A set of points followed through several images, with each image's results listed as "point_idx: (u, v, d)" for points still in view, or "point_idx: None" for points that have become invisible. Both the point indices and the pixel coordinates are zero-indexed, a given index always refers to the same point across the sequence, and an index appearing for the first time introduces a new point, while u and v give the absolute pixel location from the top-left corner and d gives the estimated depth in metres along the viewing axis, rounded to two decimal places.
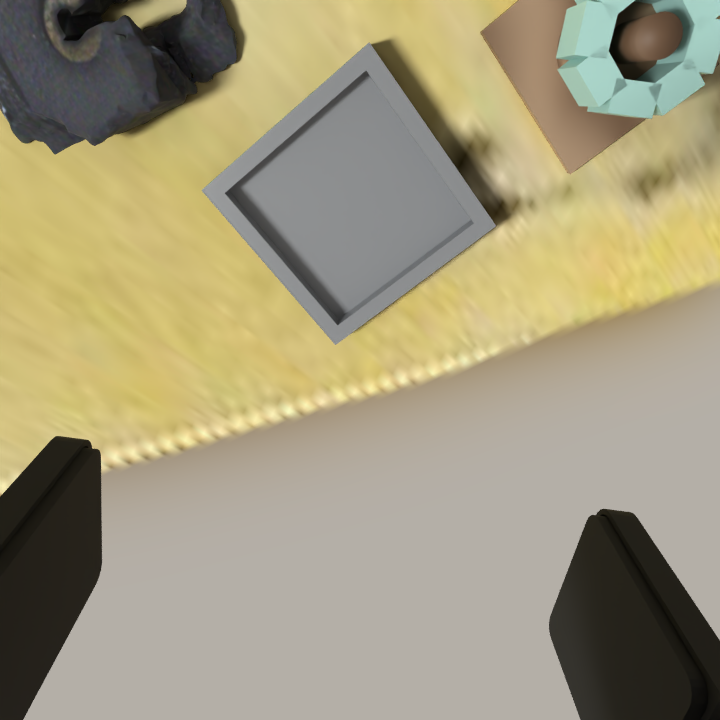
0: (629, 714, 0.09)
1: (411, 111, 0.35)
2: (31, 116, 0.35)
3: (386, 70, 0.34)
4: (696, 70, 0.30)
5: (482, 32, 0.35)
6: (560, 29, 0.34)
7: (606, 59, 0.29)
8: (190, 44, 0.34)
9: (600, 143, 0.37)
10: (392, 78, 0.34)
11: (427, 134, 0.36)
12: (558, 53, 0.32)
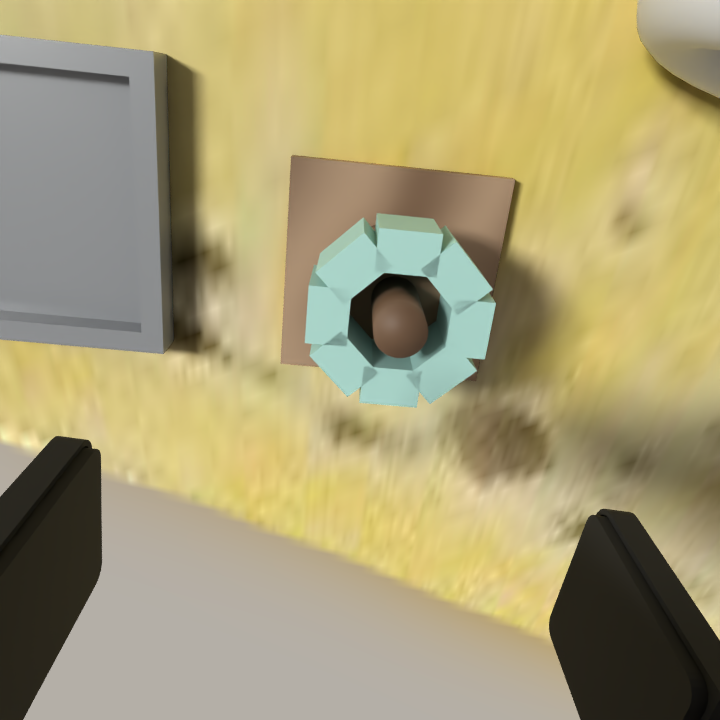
0: (629, 714, 0.09)
1: (151, 165, 0.25)
2: None
3: (152, 98, 0.24)
4: (418, 388, 0.24)
5: (291, 157, 0.27)
6: None
7: (343, 304, 0.22)
8: None
9: None
10: (153, 113, 0.25)
11: (152, 204, 0.26)
12: (323, 251, 0.24)
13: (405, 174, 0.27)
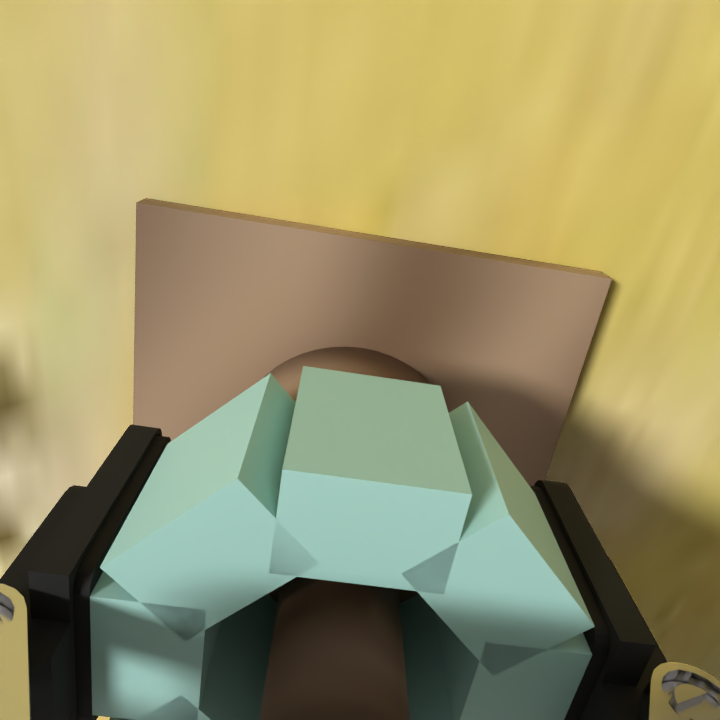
0: None
1: None
2: None
3: None
4: None
5: (139, 205, 0.12)
6: (297, 350, 0.13)
7: (184, 641, 0.08)
8: None
9: None
10: None
11: None
12: (172, 446, 0.10)
13: (382, 255, 0.13)
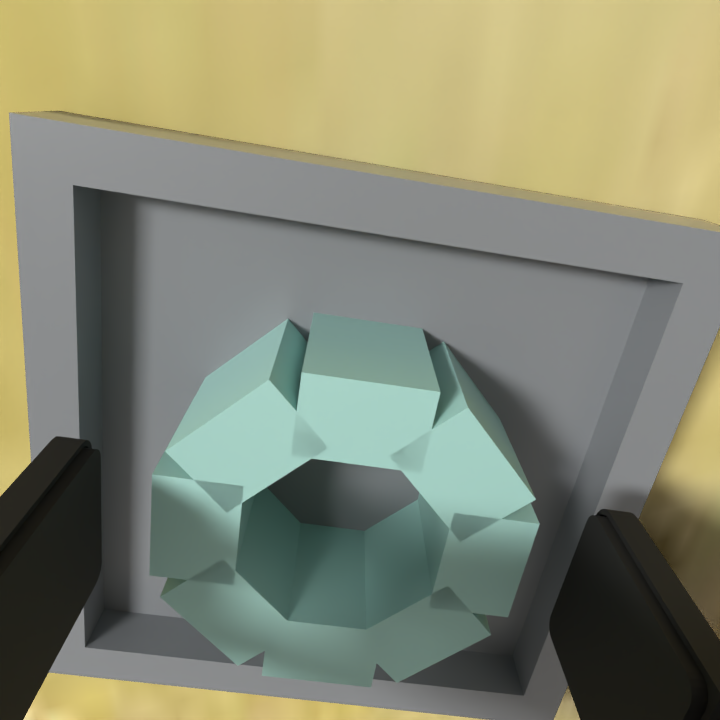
0: (629, 714, 0.09)
1: (658, 444, 0.12)
2: None
3: (714, 327, 0.11)
4: (376, 655, 0.12)
5: None
6: None
7: (226, 511, 0.11)
8: None
9: None
10: (703, 353, 0.12)
11: (631, 506, 0.13)
12: (209, 377, 0.13)
13: None
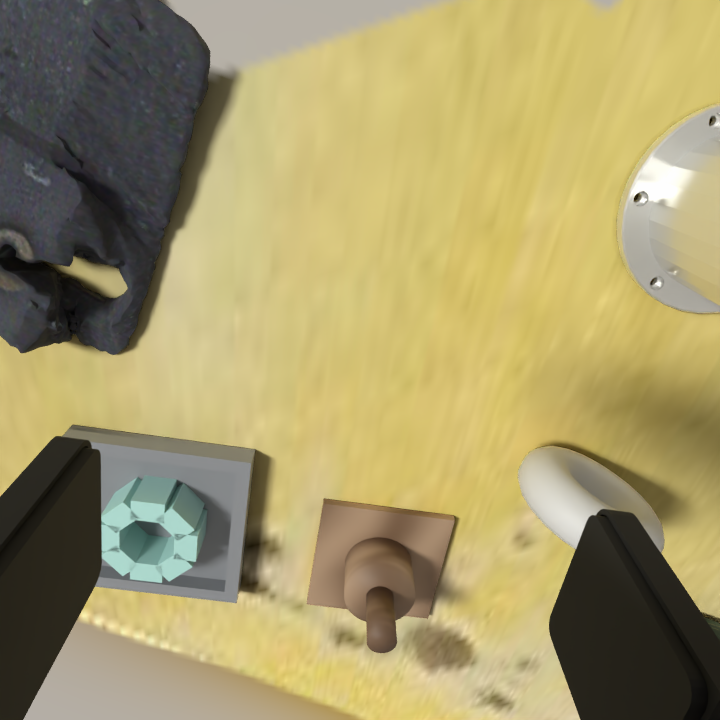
0: (629, 713, 0.09)
1: (242, 513, 0.44)
2: None
3: (247, 483, 0.43)
4: (162, 573, 0.44)
5: (323, 503, 0.45)
6: (365, 538, 0.46)
7: (115, 533, 0.42)
8: (89, 327, 0.38)
9: (336, 603, 0.49)
10: (247, 489, 0.43)
11: (240, 530, 0.44)
12: (115, 493, 0.44)
13: (390, 515, 0.45)
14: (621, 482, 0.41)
